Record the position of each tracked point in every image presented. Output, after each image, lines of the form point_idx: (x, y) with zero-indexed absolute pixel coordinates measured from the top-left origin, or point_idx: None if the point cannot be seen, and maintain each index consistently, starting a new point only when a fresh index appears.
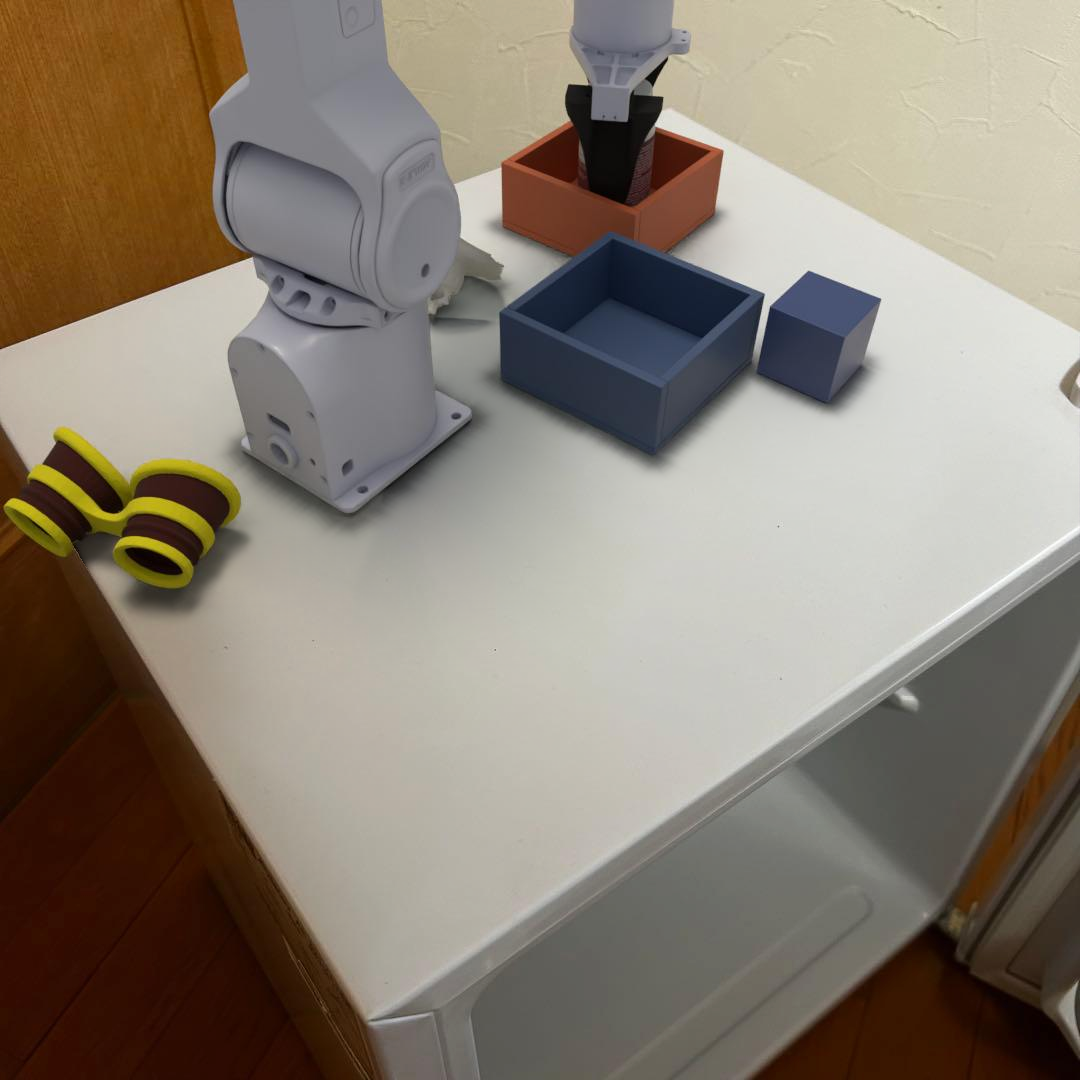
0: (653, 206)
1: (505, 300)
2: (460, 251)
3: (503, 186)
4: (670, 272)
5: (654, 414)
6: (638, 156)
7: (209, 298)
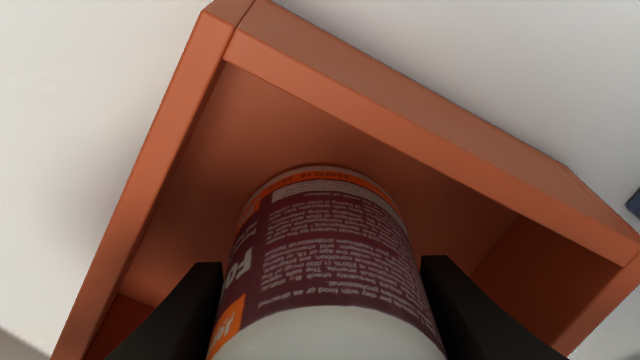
0: (585, 210)
1: (618, 357)
2: None
3: None
4: None
5: None
6: (535, 337)
7: None
